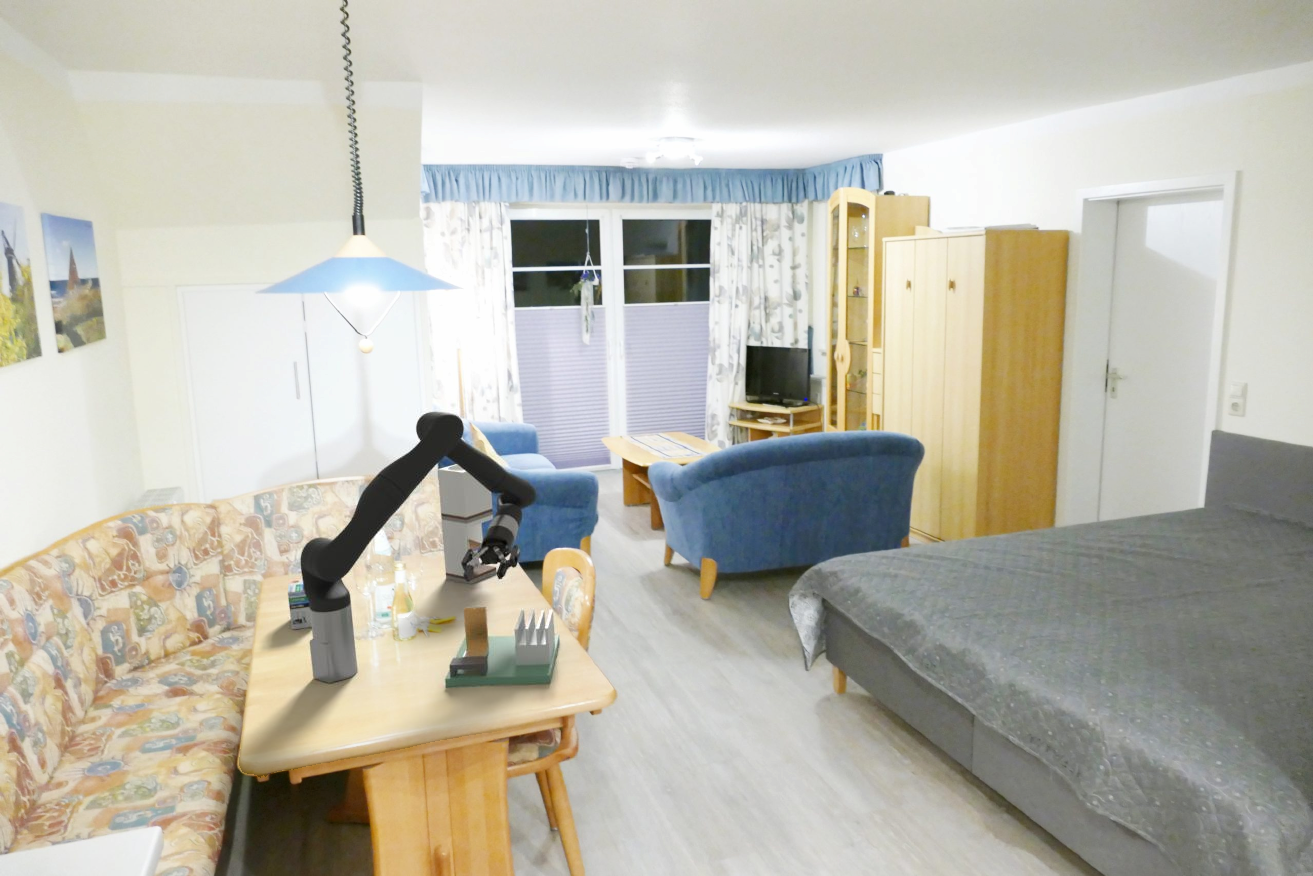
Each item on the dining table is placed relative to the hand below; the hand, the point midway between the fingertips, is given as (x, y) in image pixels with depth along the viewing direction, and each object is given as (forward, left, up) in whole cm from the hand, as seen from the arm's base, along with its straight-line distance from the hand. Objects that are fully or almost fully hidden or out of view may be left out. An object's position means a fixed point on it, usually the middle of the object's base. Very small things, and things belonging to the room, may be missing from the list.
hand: (482, 577), depth 224 cm
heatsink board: (-3, -8, -20) cm, 21 cm away
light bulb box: (-9, +60, -20) cm, 64 cm away
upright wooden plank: (-7, -2, -17) cm, 19 cm away
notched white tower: (+41, +45, -20) cm, 64 cm away
